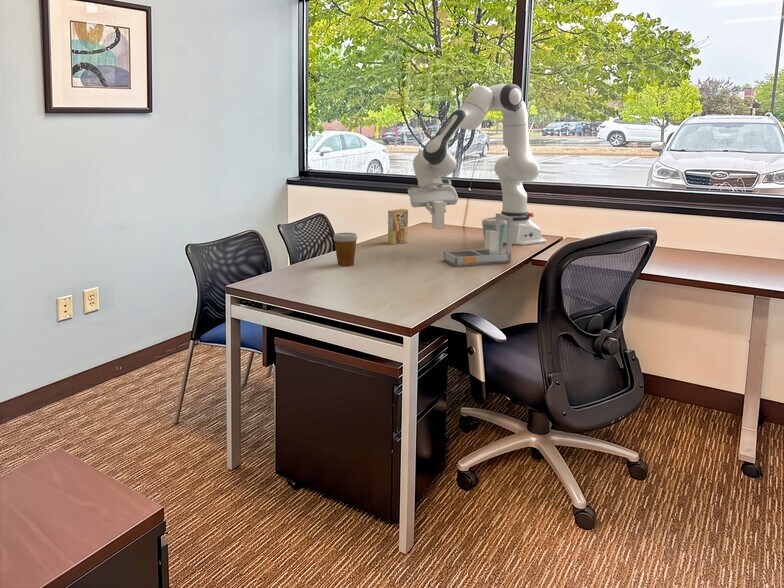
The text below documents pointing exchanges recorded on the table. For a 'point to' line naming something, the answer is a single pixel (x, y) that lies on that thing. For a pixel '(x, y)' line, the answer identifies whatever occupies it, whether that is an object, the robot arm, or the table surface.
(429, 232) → the table surface
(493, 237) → the rack
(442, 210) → the cream rectangular block
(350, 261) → the disposable coffee cup
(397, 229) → the candy box
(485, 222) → the disposable coffee cup
